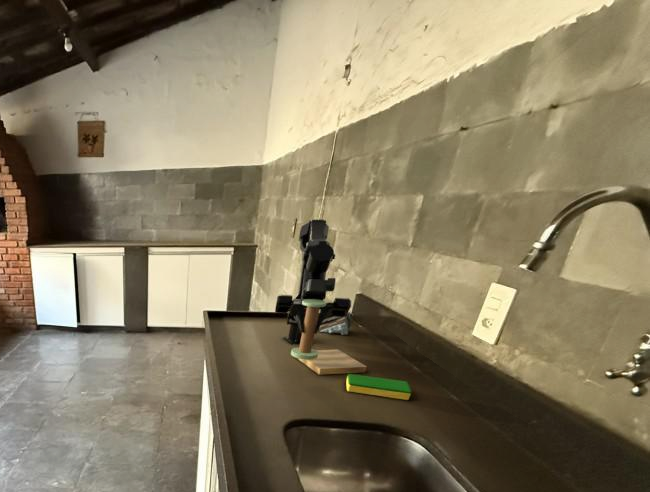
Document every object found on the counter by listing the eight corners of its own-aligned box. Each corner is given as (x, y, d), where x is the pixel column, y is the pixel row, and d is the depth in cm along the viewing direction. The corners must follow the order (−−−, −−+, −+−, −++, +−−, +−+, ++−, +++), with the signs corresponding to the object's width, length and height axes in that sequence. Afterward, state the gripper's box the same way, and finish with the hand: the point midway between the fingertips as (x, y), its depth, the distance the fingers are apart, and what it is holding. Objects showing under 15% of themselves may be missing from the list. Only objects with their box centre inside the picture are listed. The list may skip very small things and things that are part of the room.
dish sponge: (346, 381, 115) (348, 373, 114) (404, 389, 110) (407, 381, 109) (346, 391, 109) (348, 383, 108) (408, 400, 104) (411, 391, 103)
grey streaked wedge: (313, 333, 155) (343, 315, 147) (313, 323, 160) (343, 305, 151) (329, 350, 157) (360, 333, 149) (329, 339, 162) (359, 322, 153)
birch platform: (294, 356, 133) (295, 351, 132) (336, 354, 134) (337, 349, 133) (319, 374, 120) (320, 368, 119) (365, 372, 121) (367, 366, 120)
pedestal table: (285, 352, 121) (295, 299, 114) (307, 350, 122) (317, 297, 115) (300, 360, 115) (310, 305, 108) (322, 358, 116) (334, 303, 109)
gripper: (282, 265, 114) (276, 315, 110) (358, 267, 108) (355, 320, 104) (277, 288, 124) (271, 335, 120) (347, 291, 119) (343, 340, 114)
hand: (308, 332), depth 114 cm, fingers closed on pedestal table, 3 cm apart
